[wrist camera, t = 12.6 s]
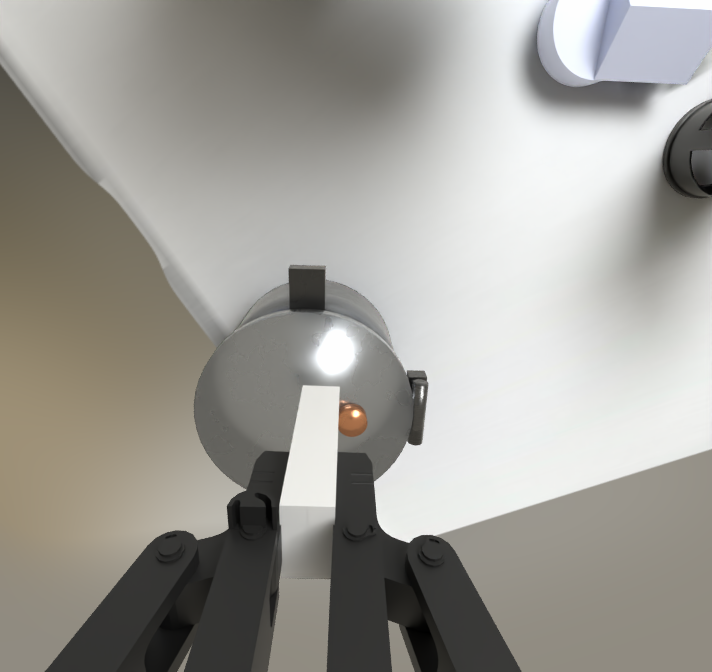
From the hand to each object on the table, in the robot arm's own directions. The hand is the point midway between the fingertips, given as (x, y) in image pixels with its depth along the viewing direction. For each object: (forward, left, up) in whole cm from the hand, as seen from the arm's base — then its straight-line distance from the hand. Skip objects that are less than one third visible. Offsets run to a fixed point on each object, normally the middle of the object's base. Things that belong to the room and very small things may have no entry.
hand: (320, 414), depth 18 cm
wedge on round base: (-22, +25, -31) cm, 46 cm away
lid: (+11, -1, -19) cm, 21 cm away
